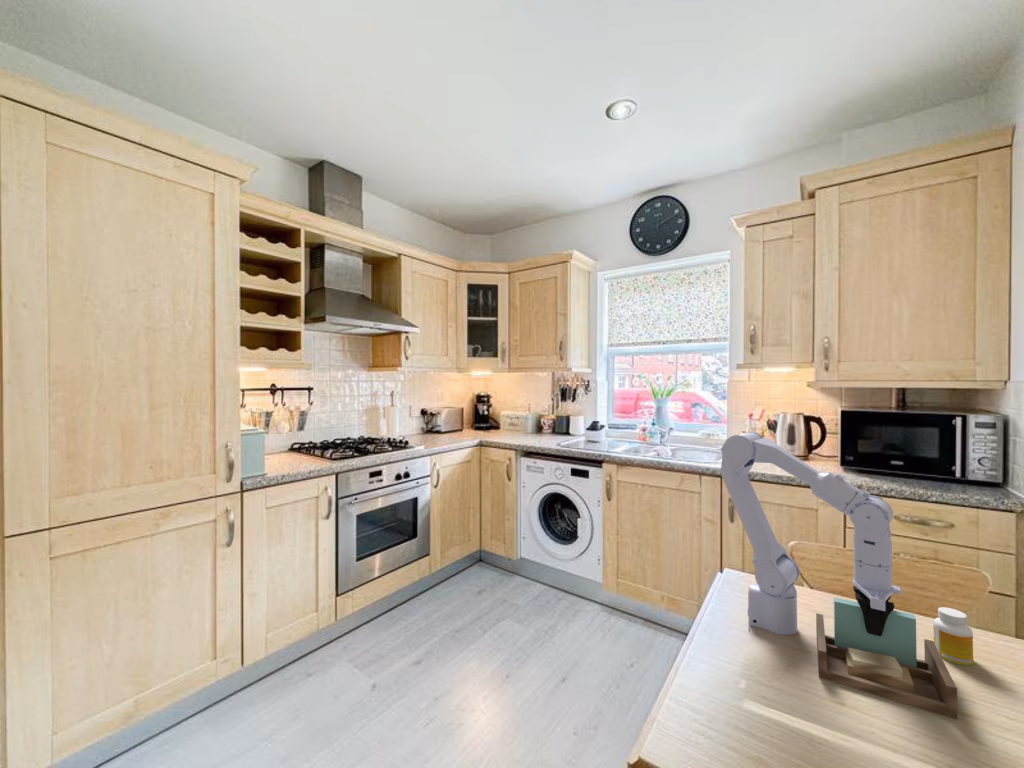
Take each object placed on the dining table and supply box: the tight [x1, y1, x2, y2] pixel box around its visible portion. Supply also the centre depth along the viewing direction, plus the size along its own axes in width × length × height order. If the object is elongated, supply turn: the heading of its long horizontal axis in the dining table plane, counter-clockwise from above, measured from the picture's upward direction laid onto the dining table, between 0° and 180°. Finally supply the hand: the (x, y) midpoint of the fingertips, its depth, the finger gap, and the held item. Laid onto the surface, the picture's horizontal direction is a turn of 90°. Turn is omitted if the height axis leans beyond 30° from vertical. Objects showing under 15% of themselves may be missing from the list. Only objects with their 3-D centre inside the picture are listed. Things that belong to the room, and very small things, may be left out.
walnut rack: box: [815, 613, 958, 721], centre depth 79 cm, size 18×15×6 cm
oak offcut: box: [846, 652, 914, 693], centre depth 78 cm, size 9×5×2 cm, turn 56°
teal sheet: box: [833, 597, 918, 668], centre depth 83 cm, size 12×2×9 cm, turn 56°
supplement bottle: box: [933, 606, 974, 667], centre depth 83 cm, size 5×5×10 cm
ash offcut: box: [848, 648, 903, 679], centre depth 79 cm, size 7×4×2 cm, turn 64°
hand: (873, 630), depth 83 cm, fingers closed on teal sheet, 2 cm apart
